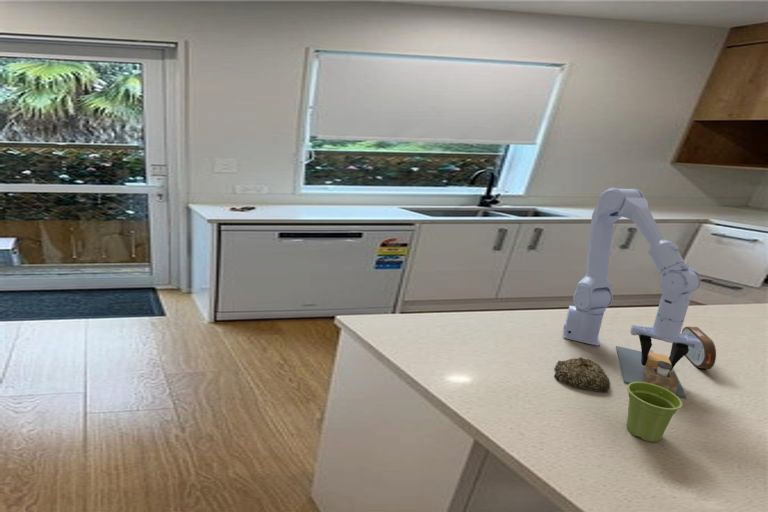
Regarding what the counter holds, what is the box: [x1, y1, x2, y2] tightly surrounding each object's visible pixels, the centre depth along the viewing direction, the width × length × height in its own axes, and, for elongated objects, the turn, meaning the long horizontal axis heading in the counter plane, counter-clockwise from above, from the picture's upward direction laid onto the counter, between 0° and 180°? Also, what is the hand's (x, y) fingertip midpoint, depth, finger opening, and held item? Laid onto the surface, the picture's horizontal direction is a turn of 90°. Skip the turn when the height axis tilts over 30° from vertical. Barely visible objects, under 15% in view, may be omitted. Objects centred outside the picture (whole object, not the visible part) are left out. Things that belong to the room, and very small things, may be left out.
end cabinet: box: [643, 365, 680, 394], centre depth 107 cm, size 6×5×4 cm
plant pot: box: [626, 382, 683, 443], centre depth 89 cm, size 9×9×9 cm
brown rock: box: [553, 356, 611, 393], centre depth 108 cm, size 13×12×5 cm
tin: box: [681, 326, 717, 370], centre depth 122 cm, size 15×3×8 cm, turn 168°
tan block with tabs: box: [644, 351, 672, 370], centre depth 112 cm, size 5×5×4 cm
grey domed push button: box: [656, 361, 672, 377], centre depth 106 cm, size 3×3×4 cm
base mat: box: [615, 345, 688, 400], centre depth 115 cm, size 13×21×1 cm, turn 158°
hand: (655, 366), depth 112 cm, fingers closed on tan block with tabs, 5 cm apart
